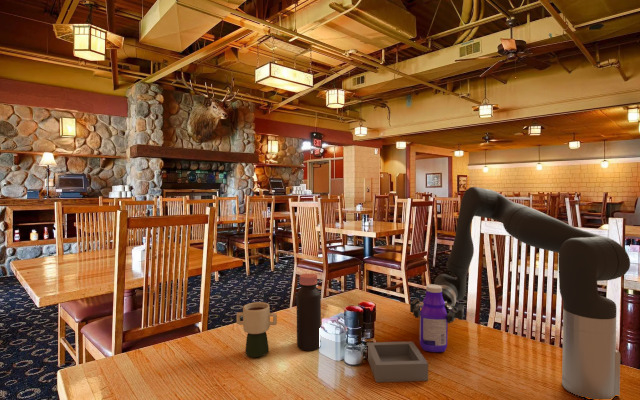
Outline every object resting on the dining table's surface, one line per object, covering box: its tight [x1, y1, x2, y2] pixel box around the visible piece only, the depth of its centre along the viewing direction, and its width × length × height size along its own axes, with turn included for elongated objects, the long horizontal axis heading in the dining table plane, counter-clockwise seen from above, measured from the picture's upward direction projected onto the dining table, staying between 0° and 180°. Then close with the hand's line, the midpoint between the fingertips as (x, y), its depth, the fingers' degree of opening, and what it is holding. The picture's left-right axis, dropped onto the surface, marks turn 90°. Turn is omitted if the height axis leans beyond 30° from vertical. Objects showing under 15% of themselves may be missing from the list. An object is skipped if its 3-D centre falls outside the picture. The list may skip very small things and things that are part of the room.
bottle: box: [419, 283, 449, 353], centre depth 100 cm, size 7×6×17 cm
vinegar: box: [295, 273, 322, 352], centre depth 102 cm, size 7×7×20 cm
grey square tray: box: [366, 340, 429, 383], centre depth 89 cm, size 12×12×4 cm
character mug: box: [236, 301, 278, 358], centre depth 98 cm, size 11×7×13 cm, turn 86°
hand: (432, 316), depth 98 cm, fingers open, 8 cm apart
